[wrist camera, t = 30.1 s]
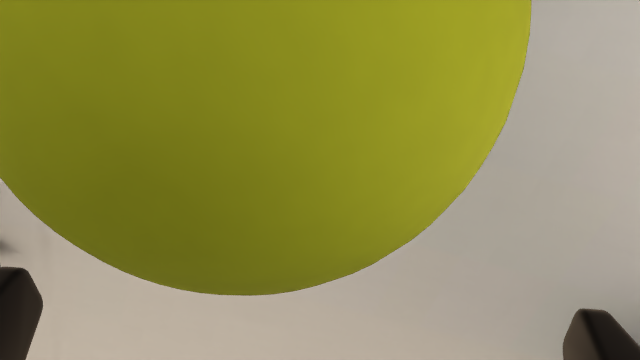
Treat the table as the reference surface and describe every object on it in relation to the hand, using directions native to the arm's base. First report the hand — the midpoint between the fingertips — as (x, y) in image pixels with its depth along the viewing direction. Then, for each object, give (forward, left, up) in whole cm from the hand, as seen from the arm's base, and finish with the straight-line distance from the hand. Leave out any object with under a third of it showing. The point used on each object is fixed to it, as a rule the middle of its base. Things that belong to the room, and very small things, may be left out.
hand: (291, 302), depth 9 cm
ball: (+4, -3, 0) cm, 5 cm away
